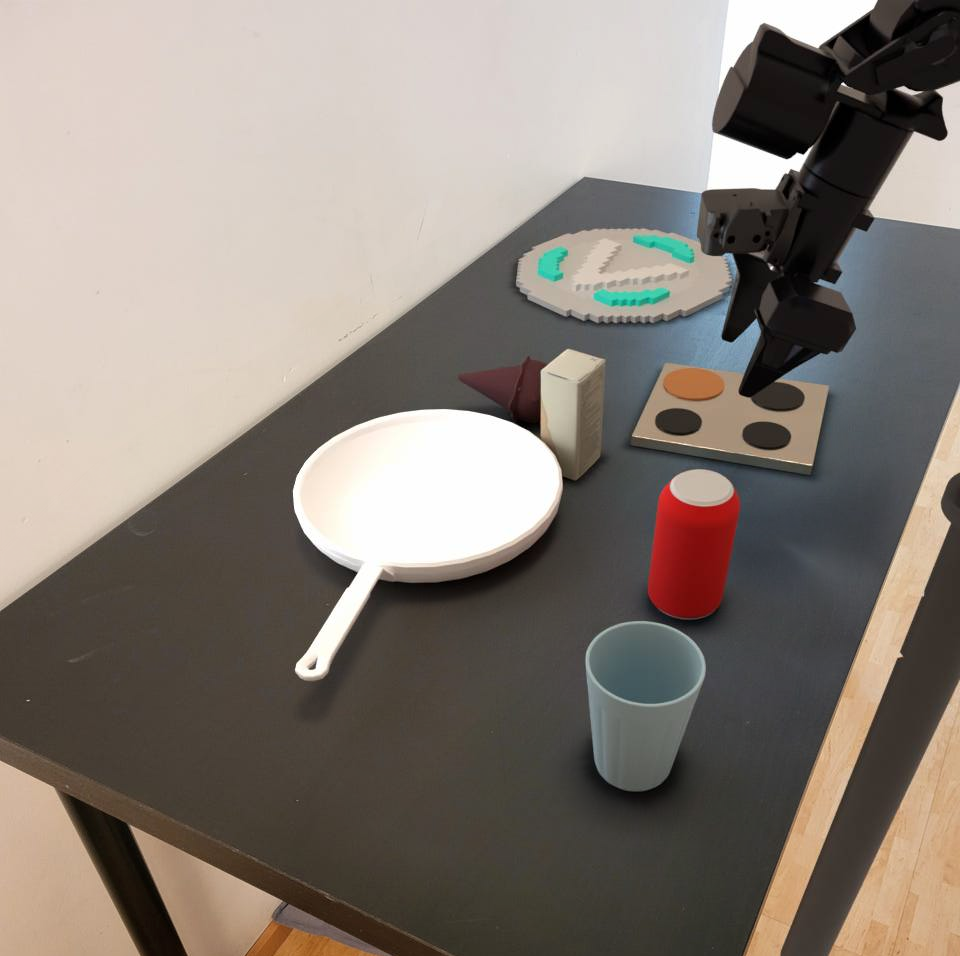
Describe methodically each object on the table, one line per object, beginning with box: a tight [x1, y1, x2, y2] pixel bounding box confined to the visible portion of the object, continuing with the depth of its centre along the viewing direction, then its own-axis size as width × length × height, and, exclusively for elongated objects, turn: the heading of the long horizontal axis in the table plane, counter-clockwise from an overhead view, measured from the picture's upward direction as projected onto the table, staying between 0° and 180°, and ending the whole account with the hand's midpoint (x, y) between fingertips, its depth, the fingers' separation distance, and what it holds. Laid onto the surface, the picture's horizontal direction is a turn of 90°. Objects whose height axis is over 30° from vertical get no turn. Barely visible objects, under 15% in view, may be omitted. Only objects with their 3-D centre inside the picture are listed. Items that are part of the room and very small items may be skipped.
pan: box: [292, 408, 564, 682], centre depth 83 cm, size 25×39×4 cm, turn 162°
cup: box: [584, 620, 707, 792], centre depth 64 cm, size 8×8×10 cm
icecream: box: [457, 355, 549, 424], centre depth 99 cm, size 7×7×15 cm
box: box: [540, 348, 606, 481], centre depth 91 cm, size 5×4×11 cm
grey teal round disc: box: [515, 227, 734, 324], centre depth 125 cm, size 28×28×2 cm
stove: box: [630, 362, 830, 476], centre depth 99 cm, size 18×16×1 cm
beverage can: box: [647, 469, 741, 620], centre depth 75 cm, size 6×6×12 cm
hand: (734, 366), depth 78 cm, fingers open, 9 cm apart
